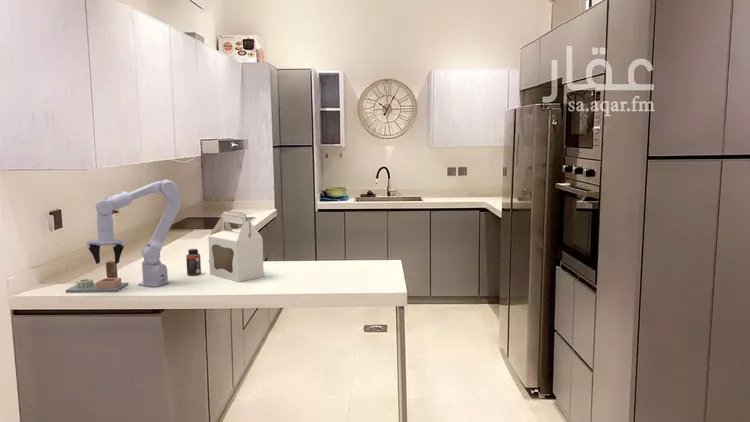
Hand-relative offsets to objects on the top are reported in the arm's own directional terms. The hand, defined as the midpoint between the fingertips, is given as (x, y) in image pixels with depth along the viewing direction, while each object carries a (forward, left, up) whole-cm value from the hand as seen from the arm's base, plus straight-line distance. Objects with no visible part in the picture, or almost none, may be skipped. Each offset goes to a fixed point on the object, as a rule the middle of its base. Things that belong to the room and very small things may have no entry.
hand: (107, 263), depth 228 cm
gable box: (-35, -37, -11) cm, 52 cm away
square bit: (+10, -11, -10) cm, 18 cm away
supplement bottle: (-16, -32, -11) cm, 37 cm away
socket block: (+4, +2, -10) cm, 11 cm away
